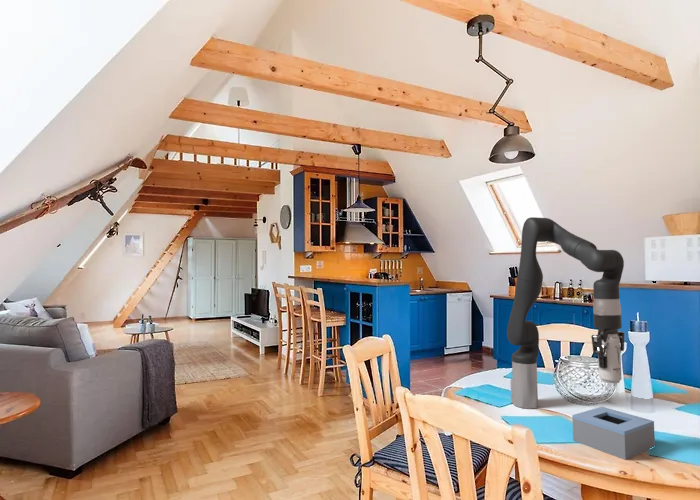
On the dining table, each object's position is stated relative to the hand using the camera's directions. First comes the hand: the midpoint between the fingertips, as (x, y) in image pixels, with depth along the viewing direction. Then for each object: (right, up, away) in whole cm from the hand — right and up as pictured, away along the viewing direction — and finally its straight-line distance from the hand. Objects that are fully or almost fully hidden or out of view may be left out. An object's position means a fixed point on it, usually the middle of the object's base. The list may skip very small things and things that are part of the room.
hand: (609, 366), depth 136 cm
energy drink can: (0, -5, 0) cm, 5 cm away
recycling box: (+1, -24, -1) cm, 24 cm away
